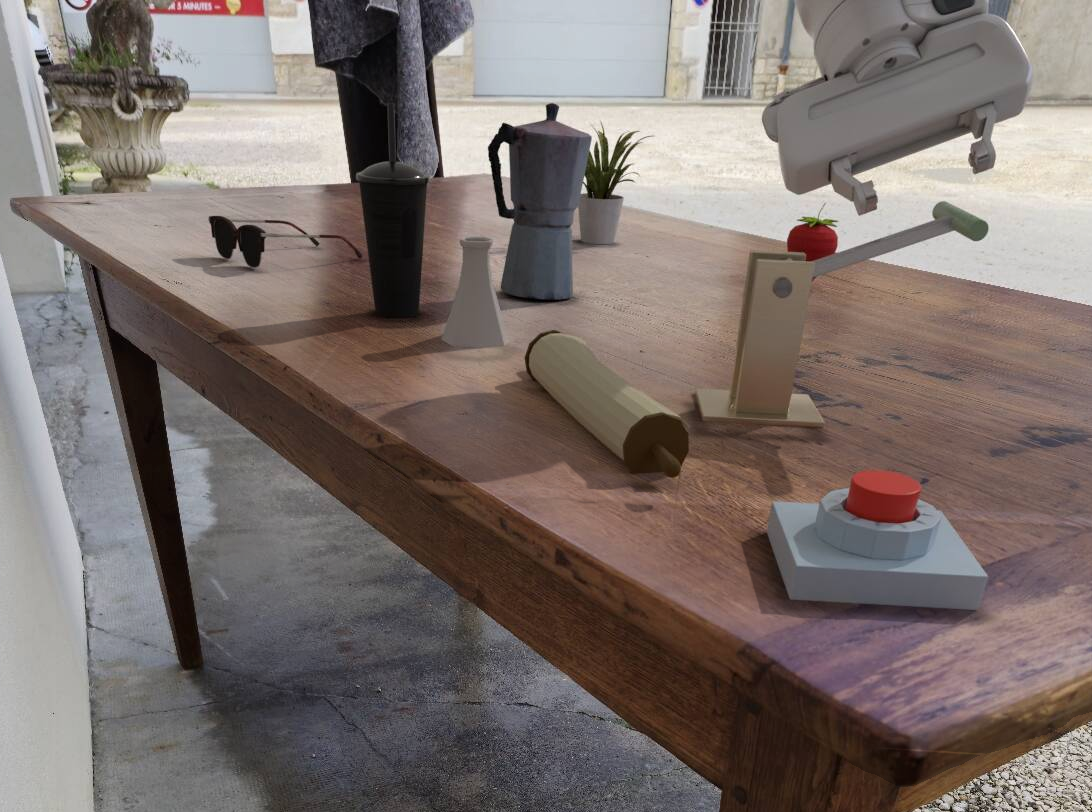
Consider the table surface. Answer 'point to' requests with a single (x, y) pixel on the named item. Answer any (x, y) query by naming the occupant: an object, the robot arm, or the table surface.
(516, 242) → the moka pot
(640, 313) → the table surface
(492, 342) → the flask
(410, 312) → the drinking cup
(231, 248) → the sunglasses
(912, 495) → the button
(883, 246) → the lever
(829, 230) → the strawberry
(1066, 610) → the table surface
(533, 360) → the rolling pin
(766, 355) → the bracket
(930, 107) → the robot arm
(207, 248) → the table surface
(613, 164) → the house plant
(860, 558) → the control block
